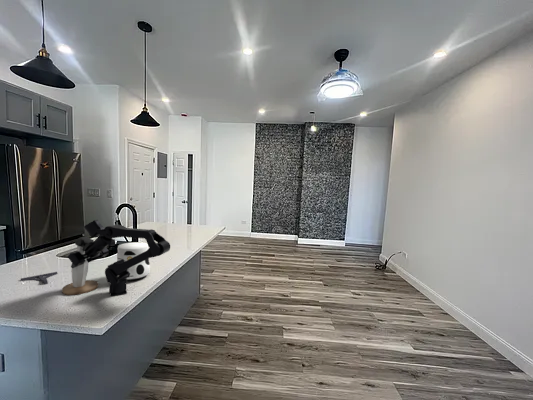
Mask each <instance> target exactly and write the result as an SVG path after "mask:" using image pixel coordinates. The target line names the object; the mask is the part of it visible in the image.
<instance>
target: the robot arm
mask: <svg viewBox="0 0 533 400" xmlns="http://www.w3.org/2000/svg"><path fill="white" fill-rule="evenodd" d="M83 229H84V230H85V231H86V233H87V235H89V236H90V237H91V238H90V237H88V236H82V237H79V238H77V239H75V243H74V244H75V245H76V247H77V246H81V247H83V249H82V250H83V251H85V254H81V253H80V252H79V251H77V250H76V251H72V252H69V254H68V255H67V256H66V257H67V259H68V260H69V261H70V262H71V265H70V268H71V269H72V268H75V267H77V266H80V265H82V264H84V262H85V259H86V260H87V261H88V264H89V263H91V262H94V261H96V260H99V259H101V258H103V257H106V256H108V255H109V253H110V250H109V249H108V248H107V247H108V246H109V247H112V246H115V245H116V240H115V239H116V238H133V239H134V238H135V239H136V238H137V239H145V241H146V243H147V244H148V246H149V249H148V250H147V251H145V252H143V253H141V254H139V255H137V256H135V257H133V258H131V259H129V260H127V261H124V259H122V260H119V261H117V260H116V261H115V262H113V263H111V264H108V265H107V267H106V268H105V270H104V275H105V278H106V281H107V283H108V285H109V287H108V288H109V290H108V291H109V292H108V293H109V294H110V297H115V296H119V295H125V294H128V292H127V281H128V280H126V278H128V277H129V276H130V273H129V271H128V269H129V268H130V267H132V266H134V265H136V264H138V263H140V262H142V261H144V260H146V259H148V258H149V259H150V258H156V257H158V256H161V255H164V254H166V253H167V252H169V251H170V250H171V243H170V242H169V241H168V240H166V239H165V237H163V236H162V235H160V234H159V233H158V232H157V231H156V230H155V229H145V228H133V227H132V228H130V227H126V226H124V225H120V224H113V225H108V226H105V227H104V226H103V225H102V224H101V223H100V221H99V220H98V219H94V220H93V221H91V222H88V223H87V224H85V225H84V226H83ZM92 238H95V239H94V240H93V239H92ZM117 276H118V277H117Z"/></svg>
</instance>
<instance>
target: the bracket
mask: <svg viewBox="0 0 533 400" xmlns="http://www.w3.org/2000/svg"><path fill="white" fill-rule="evenodd" d="M55 275H58V271H54V272H48V273H43V274H37V275H33V276H27V277H21V278H20V281H21V282H23V281H24V282H26V281H40V282H42V284H43V285H48V282H49V281H48V278H51V277H53V276H55Z"/></svg>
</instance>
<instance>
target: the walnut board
mask: <svg viewBox="0 0 533 400" xmlns="http://www.w3.org/2000/svg"><path fill="white" fill-rule="evenodd" d="M98 288H99V282H98V281H97V280H93V279H92V280H91V279H89V280H88V279H86V281H85V285H84V286H82V287H73V283H72V282H71V283H68V284H66V285H64V286H63V287H62V288H61V289H62V290H61V293H62V294H63V295H67V296H78V295H83V294H87V293H90V292H93V291H95V290H96V289H98Z"/></svg>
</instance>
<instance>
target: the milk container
mask: <svg viewBox="0 0 533 400" xmlns="http://www.w3.org/2000/svg"><path fill="white" fill-rule="evenodd" d="M148 249H149V246H148V244H147V242H139V241H138V242H137V241H136V242H125V243H120V244H119V245H117V250H116V262H117V261H119V260H122V259H124V261H127V260H129V259H131V258H133V257H135V256H137V255H139V254H141V253H143V252H145V251H147V250H148ZM149 259H150V258H148V259H146V260H144V261H142V262H140V263H138V264H136V265H134V266H132V267H130V268H129V269H128V271H129V273H130V276H129V277H128V278H126V280H127V281H134V280H139V279H143V278H144V277H147V276H148V275H149V274H150V271H151V270H150V269H151V263H150V260H149ZM117 277H118V276H117Z"/></svg>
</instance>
